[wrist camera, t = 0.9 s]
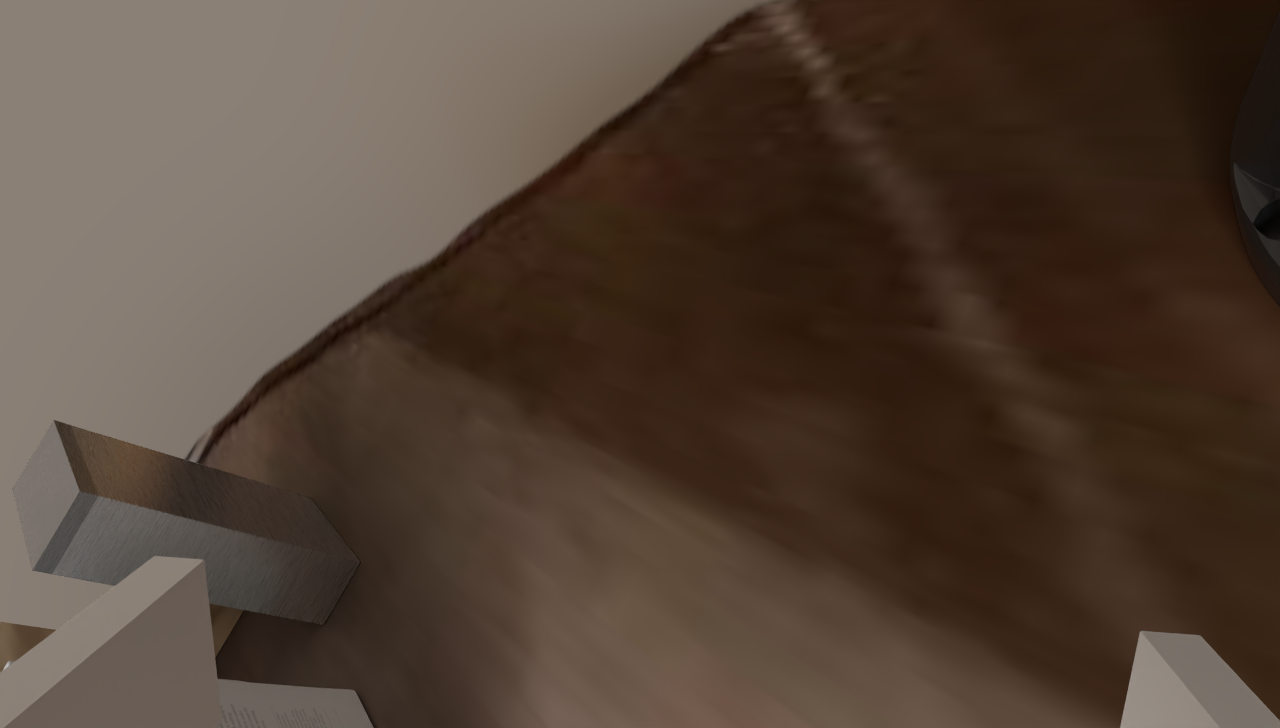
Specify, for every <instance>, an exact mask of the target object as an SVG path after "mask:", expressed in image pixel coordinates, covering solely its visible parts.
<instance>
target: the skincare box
mask: <svg viewBox="0 0 1280 728" xmlns="http://www.w3.org/2000/svg"><path fill="white" fill-rule="evenodd" d="M14 662H15V661H8V662H7V664H6V666H5V667H4V669H6V668H7V667H8V666H10V665H11V664H12V663H14ZM4 669H3V670H4ZM218 688H219V697H220V706H221V715H222V722H221V723H220V724H219V726H218V727H217V728H374V727H373V726H372V724H371V722H370V720H369V718H368V716H367V714H366V712H365V710H364V708H363V705H362V703H361V701H360V699H359V697H358V695H357V693H356V692H355V691H354V690H351V689H331V688H317V687H302V686H289V685H276V684H264V683H251V682H244V681H238V680H226V679H218Z"/></svg>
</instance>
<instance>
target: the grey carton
mask: <svg viewBox="0 0 1280 728" xmlns="http://www.w3.org/2000/svg"><path fill="white" fill-rule="evenodd" d="M13 493H14V498H15V502H16V506H17V510H18V514H19V517H20V522H21V526H22V530H23V534H24V538H25V542H26V546H27V551H28V554H29V559H30V563H31V567H32V570H33V571H38V572H44V573H49V574H54V575H60V576H65V577H70V578H76V579H81V580H86V581H91V582H97V583H103V584H108V585H113V586H115V585H117V584H118V583H119V582H121V581H122V580H123V579H125V578H126V577H127V576H129V575H130V574H131V573H132V572H134V571H135V570H136V569H138V568H139V567H140V566H142V565H143V564H144V563H146V562H147V561H148V560H150V559H151V558H152V557H154V556H163V557H176V558H189V559H202V560H204V561H205V570H206V579H207V588H208V597H209V604H215V605H220V606H225V607H231V608H236V609H241V610H247V611H252V612H257V613H263V614H268V615H273V616H279V617H284V618H290V619H295V620H300V621H306V622H311V623H316V624H322V625H324V623H325V622H326V620H327V618H328V617H329V615H330V613H331V612H332V610H333V608H334V606H335V605H336V603H337V601H338V600H339V598H340V596H341V595H342V593H343V591H344V589H345V588H346V586H347V584H348V583H349V581H350V579H351V578H352V576H353V574H354V572H355V571H356V569H357V567H358V566H359V564H360V561H359V560H358V559H357V557H356V556H355V555H354V553H353V552H352V551H351V550H350V548H349V547H348V546H347V544H346V543H345V542H344V540H343V539H342V538H341V537H340V535H339V534H338V533H337V531H336V530H335V529H334V528H333V526H332V525H331V524H330V522H329V521H328V520H327V518H326V517H325V516H324V515H323V513H322V512H321V511H320V509H319V508H318V507H317V506H316V504H315V503H314V502H313V500H312V499H311V498H310V497H307V496H304V495H301V494H297V493H294V492H291V491H287V490H284V489H281V488H277V487H274V486H271V485H267V484H264V483H261V482H258V481H254V480H251V479H248V478H244V477H241V476H238V475H234V474H231V473H228V472H224V471H221V470H218V469H214V468H211V467H208V466H205V465H201V464H198V463H195V462H191V461H188V460H185V459H181V458H178V457H175V456H171V455H168V454H165V453H161V452H158V451H155V450H151V449H148V448H145V447H142V446H138V445H135V444H132V443H128V442H125V441H122V440H118V439H115V438H112V437H108V436H105V435H102V434H98V433H95V432H91V431H88V430H85V429H82V428H78V427H75V426H72V425H68V424H65V423H62V422H59V421H55V420H53V422H52V424H51V425H50V427H49V429H48V431H47V432H46V434H45V435H44V437H43V439H42V440H41V442H40V444H39V445H38V447H37V449H36V451H35V452H34V454H33V455H32V457H31V459H30V461H29V462H28V464H27V466H26V467H25V469H24V471H23V472H22V474H21V475H20V477H19V479H18V480H17V482H16V484H15V486H14V487H13Z"/></svg>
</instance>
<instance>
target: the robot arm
mask: <svg viewBox="0 0 1280 728" xmlns="http://www.w3.org/2000/svg"><path fill="white" fill-rule="evenodd" d="M1230 183H1231V192H1232V197H1233V202H1234V207H1235V211H1236V215H1237V219H1238V223H1239V227H1240V231H1241V235H1242V238H1243V241H1244V245H1245V248H1246V251H1247V253H1248V256H1249V258H1250V260H1251V263H1252V265H1253V267H1254V269H1255V271H1256V273H1257V274H1258V276H1259V278H1260V280H1261V282H1262V283H1263V284H1264V286H1265V287H1266V289H1267V290H1268V292H1269V293H1270V295H1271V296H1272V297H1273V299H1274V300H1275V301H1276V302H1277V303H1278V305H1279V306H1280V11H1279V13H1278V16H1277V18H1276V21H1275V23H1274V25H1273V28H1272V30H1271V33H1270V35H1269V37H1268V40H1267V42H1266V44H1265V47H1264V49H1263V52H1262V54H1261V56H1260V59H1259V61H1258V64H1257V66H1256V68H1255V71H1254V73H1253V76H1252V78H1251V80H1250V83H1249V85H1248V87H1247V90H1246V92H1245V95H1244V97H1243V99H1242V102H1241V105H1240V108H1239V111H1238V114H1237V117H1236V121H1235V126H1234V130H1233V136H1232V144H1231V153H1230ZM221 722H222V715H221V706H220V697H219V688H218V679H217V670H216V661H215V652H214V643H213V634H212V625H211V615H210V606H209V597H208V588H207V579H206V570H205V561H204V560H202V559H189V558H176V557H163V556H154V557H152V558H151V559H150V560H148V561H147V562H146V563H144V564H143V565H142V566H140V567H139V568H138V569H136V570H135V571H134V572H132V573H131V574H130V575H129V576H127V577H126V578H125V579H123V580H122V581H121V582H119V583H118V584H117V585H115V586H114V587H113V588H112V589H110V590H109V591H107V592H106V593H105V594H104V595H102V596H101V597H99V598H98V599H97V600H96V601H94V602H93V603H92V604H90V605H89V606H88V607H86V608H85V609H84V610H82V611H81V612H80V613H78V614H77V615H76V616H74V617H73V618H72V619H71V620H69V621H68V622H66V623H65V624H64V625H63V626H61V627H60V628H59V629H57V630H56V631H55V632H53V633H52V634H51V635H49V636H48V637H47V638H45V639H44V640H43V641H41V642H40V643H39V644H37V645H36V646H35V647H33V648H32V649H31V650H30V651H28V652H27V653H26V654H24V655H23V656H22V657H20V658H19V659H18V660H16V661H15V662H14V663H12V664H11V665H10V666H8V667H7V668H6V669H4V670H3V671H2V672H0V728H217V727H218V726H219V724H220V723H221ZM1120 728H1280V721H1279V720H1278V719H1277V717H1276V716H1275V715H1274V714H1273V713H1272V712H1271V711H1270V710H1269V709H1268V708H1267V707H1266V706H1265V705H1264V704H1263V702H1262V701H1261V700H1260V699H1259V698H1258V697H1257V696H1256V695H1255V694H1254V693H1253V692H1252V691H1251V690H1250V689H1249V687H1248V686H1247V685H1246V684H1245V683H1244V682H1243V681H1242V680H1241V679H1240V678H1239V677H1238V676H1237V675H1236V673H1235V672H1234V671H1233V670H1232V669H1231V668H1230V667H1229V666H1228V665H1227V664H1226V663H1225V662H1224V661H1223V660H1222V658H1221V657H1220V656H1219V655H1218V654H1217V653H1216V652H1215V651H1214V650H1213V649H1212V648H1211V647H1210V646H1209V645H1208V643H1207V642H1206V641H1205V640H1204V639H1203V638H1202V637H1201V636H1200V635H1187V634H1174V633H1161V632H1148V631H1140V635H1139V640H1138V644H1137V649H1136V654H1135V659H1134V664H1133V668H1132V673H1131V678H1130V683H1129V688H1128V693H1127V697H1126V702H1125V707H1124V712H1123V717H1122V722H1121V726H1120Z"/></svg>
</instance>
